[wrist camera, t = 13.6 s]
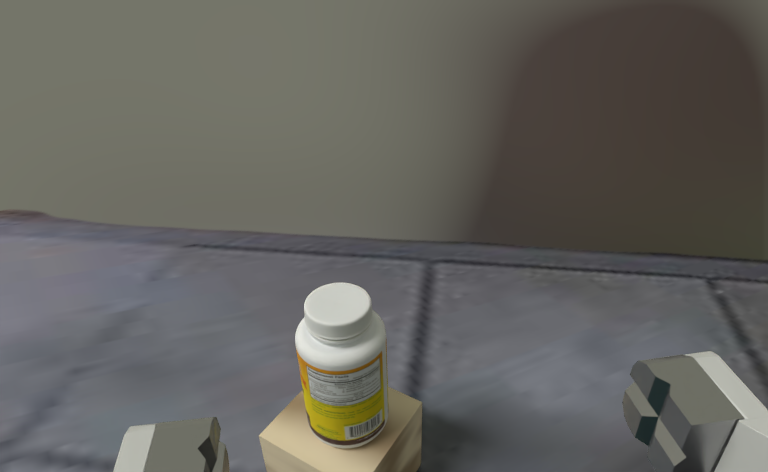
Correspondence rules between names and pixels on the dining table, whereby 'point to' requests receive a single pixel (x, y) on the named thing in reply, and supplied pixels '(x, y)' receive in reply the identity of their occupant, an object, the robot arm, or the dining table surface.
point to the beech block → (345, 465)
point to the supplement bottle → (343, 365)
